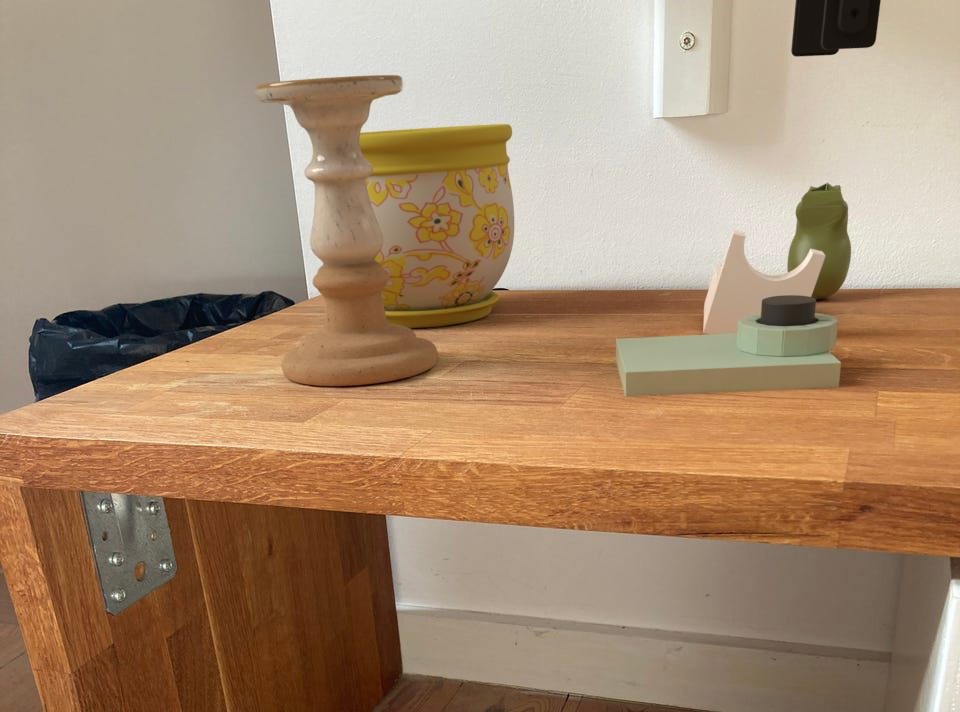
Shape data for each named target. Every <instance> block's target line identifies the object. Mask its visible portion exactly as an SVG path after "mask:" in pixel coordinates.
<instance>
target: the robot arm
mask: <svg viewBox="0 0 960 712" xmlns="http://www.w3.org/2000/svg"><path fill="white" fill-rule="evenodd" d="M881 1H882V0H795V4H794V5H795V6H794V17H793V27H792V28H793V29H792V39H791V50H790V51H791V55H792V56H793V57H796V58H797V57H817V56H818V57H819V56H821V57H822V56H834V55H836V54H838V52H839V51H840V50H850V49H868V48H872V47H873V46H874V45H875V44H876V42H877V41H876V40H877V35H878V26H879V18H880V10H881V9H880V8H881Z"/></svg>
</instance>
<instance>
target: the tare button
mask: <svg viewBox="0 0 960 712" xmlns="http://www.w3.org/2000/svg"><path fill="white" fill-rule="evenodd" d="M816 306H817V299H815V298H813V297H809V296H799V295H784V296H773V297H768V298H765V299H763V300H762V306H761V321H760V324H764V325H769V326H803V325H809V324H814V320H815V313H816V308H817V307H816Z"/></svg>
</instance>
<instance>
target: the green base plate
mask: <svg viewBox="0 0 960 712" xmlns="http://www.w3.org/2000/svg"><path fill="white" fill-rule="evenodd" d="M760 321H761V314H755V315H749V316H746V317H744V318H742V319H740V320H738V327H737V333H728V334H691V335H689V334H688V335H671V336H669V335H668V336H666V335H665V336H645V337H628V338H627V337H626V338H625V337H624V338H615V364H616V367H617V370H618V375H619V378H620V382H621V386H622V390H623V394H624V396H625V397H643V396H646V397H647V396H665V395H666V396H667V395H689V394H691V395H692V394H710V393H711V394H712V393H716V394H717V393H734V392H735V393H736V392H757V391H759V392H760V391H761V392H763V391H780V390H781V391H783V390H784V391H785V390H804V389H805V390H806V389H827V388H828V389H829V388H839V387H840V379H841V369H842V361H840V360H839V359H838V358H836V356H834V355H833V354H832V353H831V352H830V351H831V350H833V349H834V348H835V347H836V346H837V336H838V335H837V334H838V325H839V320H838V319H837V318H836V317H834V316H833V315H831V314H825V313H818V312H815V320H814V324H809V325H803V326H769V325H764V324H760Z"/></svg>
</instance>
